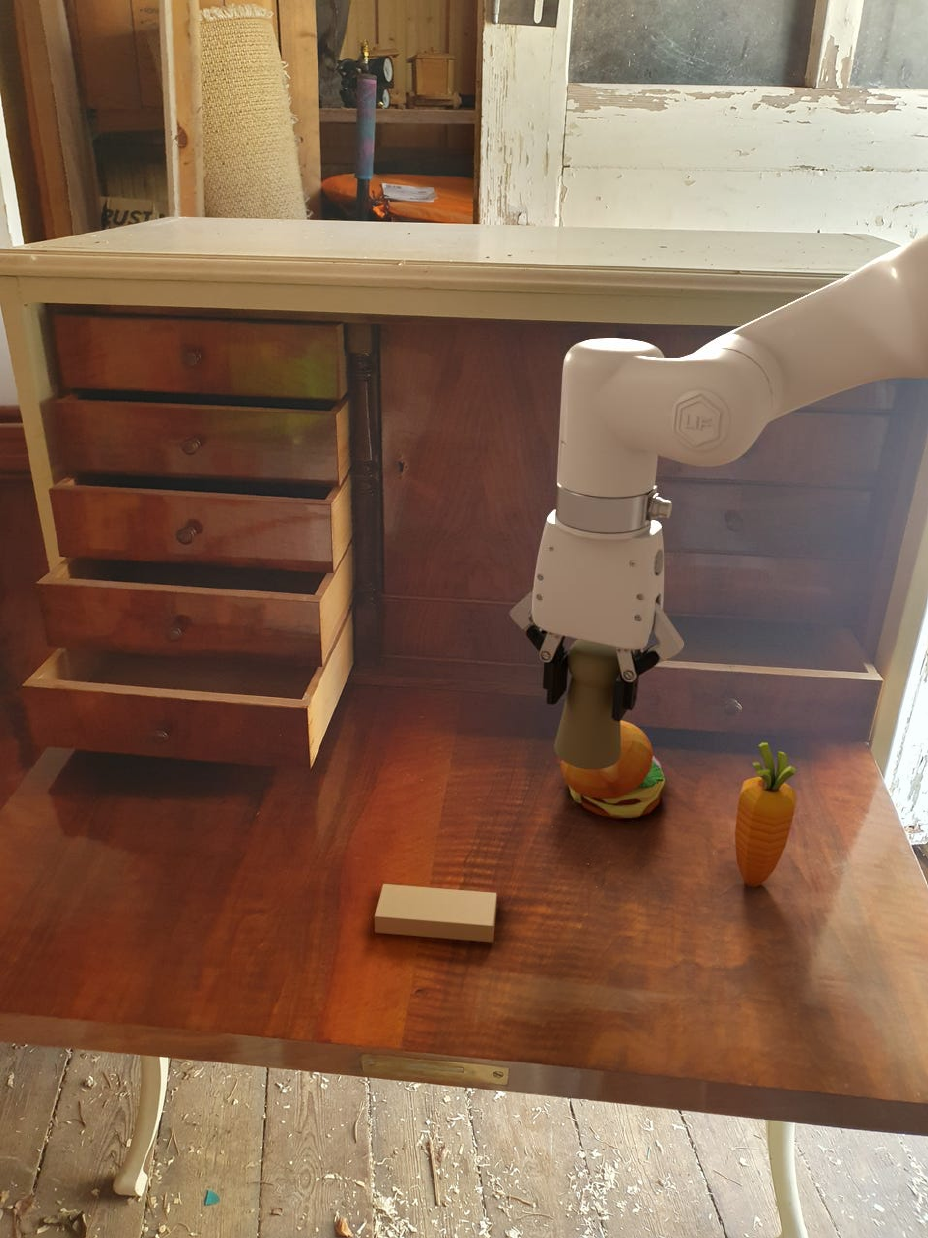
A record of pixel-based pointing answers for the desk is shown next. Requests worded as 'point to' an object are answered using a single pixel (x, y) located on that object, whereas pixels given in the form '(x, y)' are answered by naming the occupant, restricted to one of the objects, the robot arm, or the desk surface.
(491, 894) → the beige rectangular eraser
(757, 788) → the carrot
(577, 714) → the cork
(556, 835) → the desk surface
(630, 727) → the cheeseburger
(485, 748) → the desk surface
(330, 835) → the desk surface
